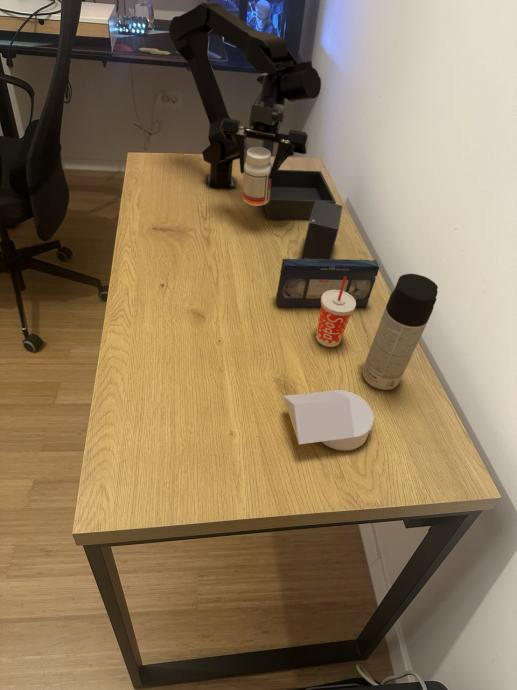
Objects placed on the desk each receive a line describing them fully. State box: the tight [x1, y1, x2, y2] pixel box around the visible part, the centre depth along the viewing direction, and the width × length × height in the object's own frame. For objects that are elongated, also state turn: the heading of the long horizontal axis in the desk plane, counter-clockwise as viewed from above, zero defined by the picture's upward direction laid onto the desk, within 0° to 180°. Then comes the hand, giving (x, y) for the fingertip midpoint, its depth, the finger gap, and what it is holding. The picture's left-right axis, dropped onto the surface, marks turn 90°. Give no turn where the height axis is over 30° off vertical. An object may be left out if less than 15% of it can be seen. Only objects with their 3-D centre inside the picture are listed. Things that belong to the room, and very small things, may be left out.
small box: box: [300, 200, 344, 260], centre depth 109 cm, size 11×6×10 cm, turn 167°
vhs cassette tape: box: [275, 258, 380, 308], centre depth 96 cm, size 18×3×10 cm, turn 95°
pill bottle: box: [242, 146, 273, 207], centre depth 110 cm, size 6×6×11 cm
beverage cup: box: [315, 276, 356, 348], centre depth 88 cm, size 6×6×14 cm
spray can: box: [361, 273, 439, 391], centre depth 80 cm, size 7×7×20 cm
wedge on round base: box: [282, 389, 375, 452], centre depth 76 cm, size 9×7×13 cm
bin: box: [263, 169, 337, 221], centre depth 127 cm, size 16×16×5 cm
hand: (256, 175), depth 108 cm, fingers closed on pill bottle, 6 cm apart
